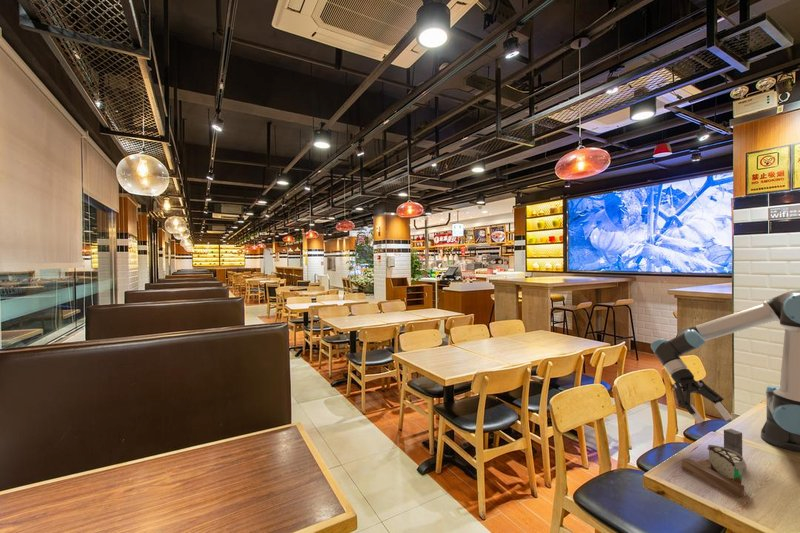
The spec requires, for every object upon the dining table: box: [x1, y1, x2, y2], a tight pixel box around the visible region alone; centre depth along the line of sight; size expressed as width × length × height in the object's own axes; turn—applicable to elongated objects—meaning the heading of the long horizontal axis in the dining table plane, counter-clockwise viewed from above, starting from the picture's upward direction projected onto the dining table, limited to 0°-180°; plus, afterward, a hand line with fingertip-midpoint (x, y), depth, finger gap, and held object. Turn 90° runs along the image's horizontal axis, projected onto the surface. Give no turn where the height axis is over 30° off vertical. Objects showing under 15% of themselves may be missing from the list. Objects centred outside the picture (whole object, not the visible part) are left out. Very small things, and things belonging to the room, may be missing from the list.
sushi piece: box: [707, 444, 747, 485], centre depth 121 cm, size 12×6×10 cm, turn 174°
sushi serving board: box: [681, 428, 745, 499], centre depth 124 cm, size 26×17×11 cm, turn 106°
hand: (715, 420), depth 140 cm, fingers open, 13 cm apart
